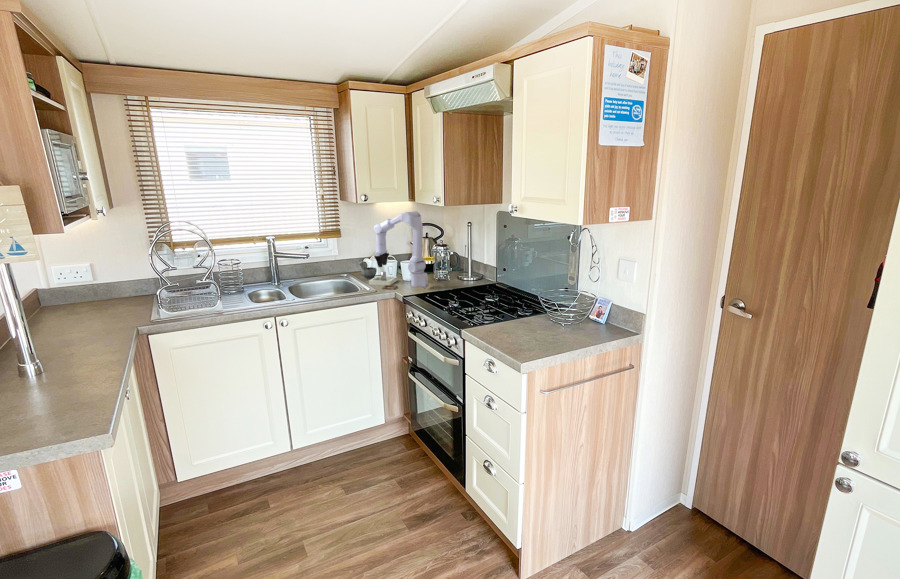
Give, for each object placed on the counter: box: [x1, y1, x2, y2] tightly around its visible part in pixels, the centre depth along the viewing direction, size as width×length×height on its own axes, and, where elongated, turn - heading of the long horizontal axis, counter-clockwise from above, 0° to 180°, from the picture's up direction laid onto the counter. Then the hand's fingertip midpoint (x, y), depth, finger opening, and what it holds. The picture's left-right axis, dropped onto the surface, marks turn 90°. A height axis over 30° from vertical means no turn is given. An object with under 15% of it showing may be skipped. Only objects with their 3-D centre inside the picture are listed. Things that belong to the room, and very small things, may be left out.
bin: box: [368, 275, 398, 286], centre depth 268 cm, size 13×13×4 cm
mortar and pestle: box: [358, 260, 378, 281], centre depth 282 cm, size 11×9×12 cm
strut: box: [380, 271, 387, 281], centre depth 267 cm, size 4×4×7 cm
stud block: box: [381, 284, 398, 291], centre depth 253 cm, size 10×10×2 cm
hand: (382, 266), depth 271 cm, fingers open, 7 cm apart
